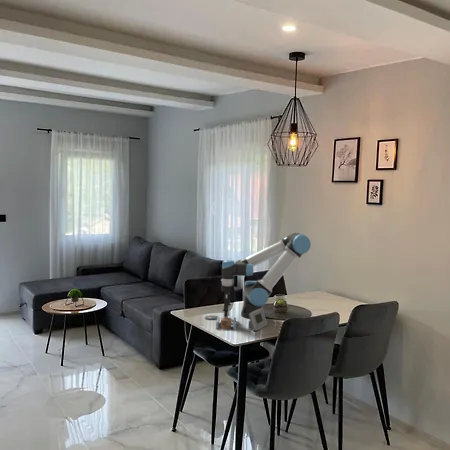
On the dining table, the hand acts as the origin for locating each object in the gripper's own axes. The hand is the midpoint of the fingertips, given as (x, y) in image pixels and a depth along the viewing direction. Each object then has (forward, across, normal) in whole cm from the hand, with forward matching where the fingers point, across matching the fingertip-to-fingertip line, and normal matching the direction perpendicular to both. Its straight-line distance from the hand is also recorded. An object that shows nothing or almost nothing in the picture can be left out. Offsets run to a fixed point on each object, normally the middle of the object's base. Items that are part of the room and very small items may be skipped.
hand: (226, 318), depth 287 cm
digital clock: (+2, +11, +20) cm, 23 cm away
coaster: (+2, -6, -10) cm, 12 cm away
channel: (+2, +10, +1) cm, 10 cm away
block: (+2, +12, +1) cm, 12 cm away
